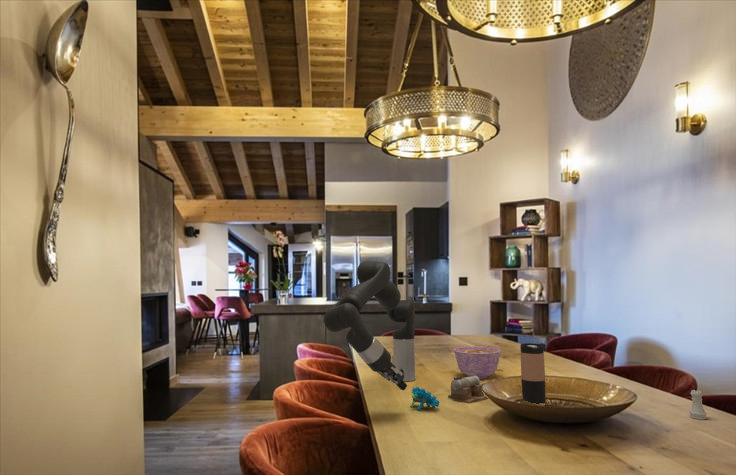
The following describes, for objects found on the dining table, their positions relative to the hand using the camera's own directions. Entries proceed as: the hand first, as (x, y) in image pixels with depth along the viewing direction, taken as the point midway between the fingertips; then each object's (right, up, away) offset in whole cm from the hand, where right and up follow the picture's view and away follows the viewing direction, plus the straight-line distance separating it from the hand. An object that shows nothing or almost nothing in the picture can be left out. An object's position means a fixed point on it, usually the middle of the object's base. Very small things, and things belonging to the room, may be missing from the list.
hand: (404, 387), depth 153 cm
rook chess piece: (+88, -6, -10) cm, 89 cm away
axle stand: (+24, -9, +16) cm, 30 cm away
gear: (+7, -9, +4) cm, 12 cm away
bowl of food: (+36, -12, +52) cm, 65 cm away
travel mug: (+44, -8, +7) cm, 46 cm away
